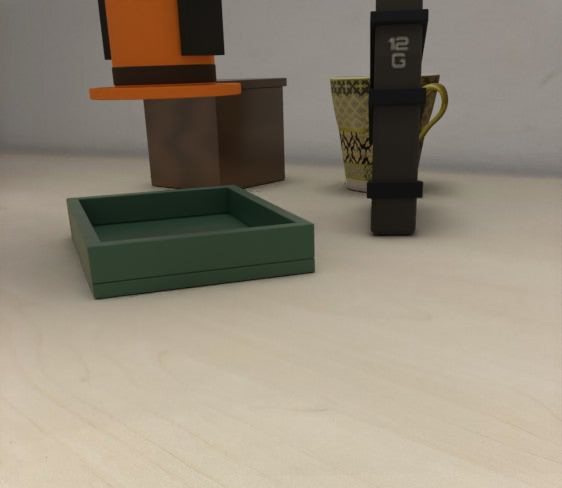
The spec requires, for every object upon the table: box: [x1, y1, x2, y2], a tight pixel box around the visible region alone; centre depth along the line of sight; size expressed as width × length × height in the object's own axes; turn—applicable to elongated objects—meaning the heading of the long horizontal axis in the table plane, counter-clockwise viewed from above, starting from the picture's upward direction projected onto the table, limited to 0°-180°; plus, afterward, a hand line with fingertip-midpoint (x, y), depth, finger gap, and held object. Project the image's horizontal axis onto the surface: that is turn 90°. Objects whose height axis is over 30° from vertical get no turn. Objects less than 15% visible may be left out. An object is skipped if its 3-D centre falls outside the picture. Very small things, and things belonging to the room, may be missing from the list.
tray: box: [65, 185, 316, 300], centre depth 46 cm, size 17×13×3 cm
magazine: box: [366, 0, 430, 236], centre depth 52 cm, size 4×13×15 cm, turn 173°
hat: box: [88, 0, 241, 101], centre depth 40 cm, size 9×9×10 cm
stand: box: [142, 77, 288, 189], centre depth 72 cm, size 11×11×10 cm
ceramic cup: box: [329, 73, 449, 193], centre depth 65 cm, size 13×10×10 cm
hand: (162, 56), depth 41 cm, fingers closed on hat, 6 cm apart
